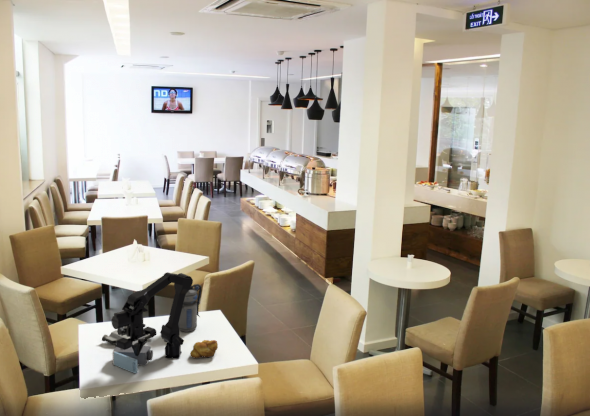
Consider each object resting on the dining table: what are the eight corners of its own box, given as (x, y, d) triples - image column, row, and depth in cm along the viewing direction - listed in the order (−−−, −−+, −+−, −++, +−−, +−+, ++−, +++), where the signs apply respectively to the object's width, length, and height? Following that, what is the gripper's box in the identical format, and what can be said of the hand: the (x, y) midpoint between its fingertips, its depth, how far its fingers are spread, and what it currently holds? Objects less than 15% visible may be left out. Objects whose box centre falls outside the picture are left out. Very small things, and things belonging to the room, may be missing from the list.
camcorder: (136, 352, 239) (136, 342, 238) (100, 344, 245) (100, 334, 244) (155, 338, 255) (155, 329, 254) (121, 332, 260) (121, 322, 259)
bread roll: (192, 362, 232) (192, 345, 230) (187, 353, 240) (187, 337, 239) (219, 357, 237) (219, 341, 236) (213, 348, 246) (213, 333, 245)
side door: (137, 372, 219) (137, 359, 218) (134, 374, 218) (134, 361, 217) (114, 363, 226) (114, 350, 225) (111, 364, 225) (111, 352, 224)
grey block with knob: (153, 358, 234) (153, 344, 232) (149, 365, 227) (149, 351, 226) (118, 356, 233) (117, 343, 232) (112, 364, 226) (112, 350, 225)
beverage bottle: (203, 330, 266) (203, 285, 262) (178, 334, 260) (178, 288, 256) (198, 323, 275) (199, 279, 271) (174, 326, 269) (174, 282, 265)
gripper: (139, 311, 231) (139, 343, 234) (106, 325, 215) (107, 359, 218) (157, 317, 226) (157, 349, 228) (124, 331, 210) (125, 366, 212)
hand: (136, 355), depth 222 cm, fingers closed
